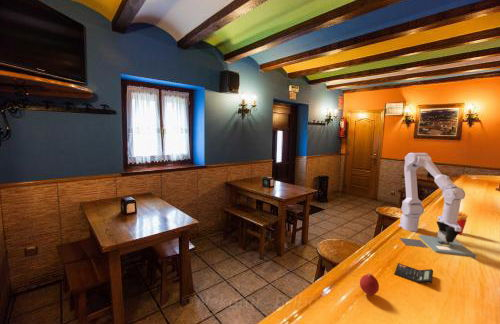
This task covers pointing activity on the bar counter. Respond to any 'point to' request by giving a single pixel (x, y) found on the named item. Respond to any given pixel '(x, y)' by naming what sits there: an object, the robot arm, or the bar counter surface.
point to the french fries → (461, 221)
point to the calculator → (414, 274)
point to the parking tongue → (413, 242)
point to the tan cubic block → (444, 237)
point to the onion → (369, 284)
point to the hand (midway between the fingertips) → (446, 239)
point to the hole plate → (453, 249)
